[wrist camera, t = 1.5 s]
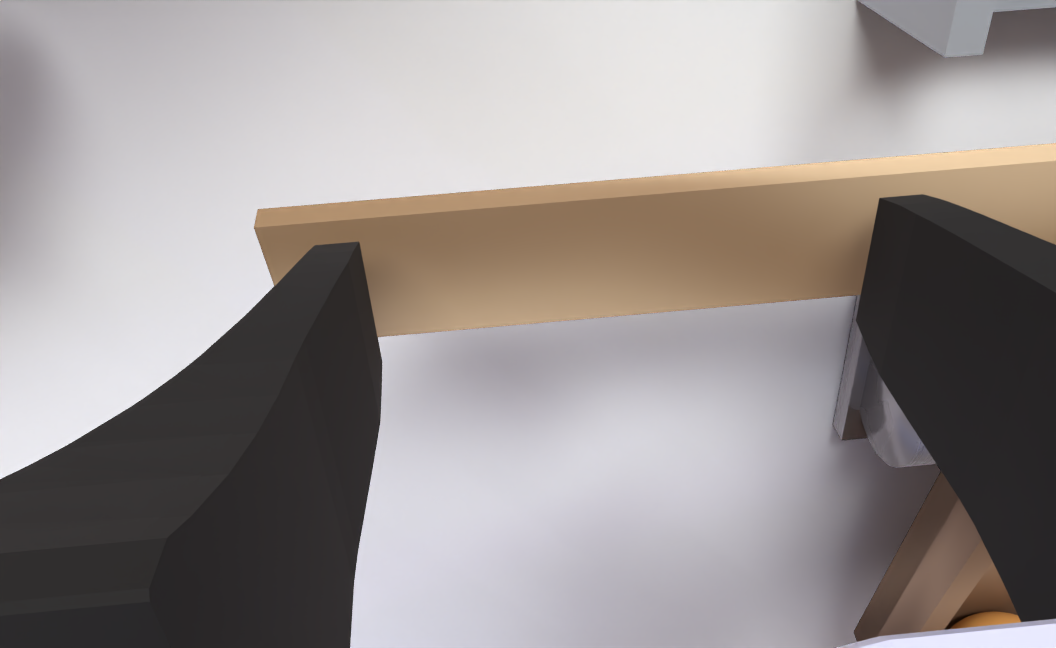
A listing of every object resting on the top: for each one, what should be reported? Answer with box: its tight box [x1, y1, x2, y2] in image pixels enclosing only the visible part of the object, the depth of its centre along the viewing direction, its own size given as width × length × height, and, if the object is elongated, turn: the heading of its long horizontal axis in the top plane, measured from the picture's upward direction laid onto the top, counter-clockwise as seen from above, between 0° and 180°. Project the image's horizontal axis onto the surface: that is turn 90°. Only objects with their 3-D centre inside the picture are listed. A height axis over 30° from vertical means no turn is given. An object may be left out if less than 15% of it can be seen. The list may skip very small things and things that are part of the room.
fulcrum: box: [833, 295, 936, 468], centre depth 20 cm, size 4×7×3 cm, turn 93°
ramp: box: [254, 143, 1056, 642], centre depth 18 cm, size 17×18×2 cm
